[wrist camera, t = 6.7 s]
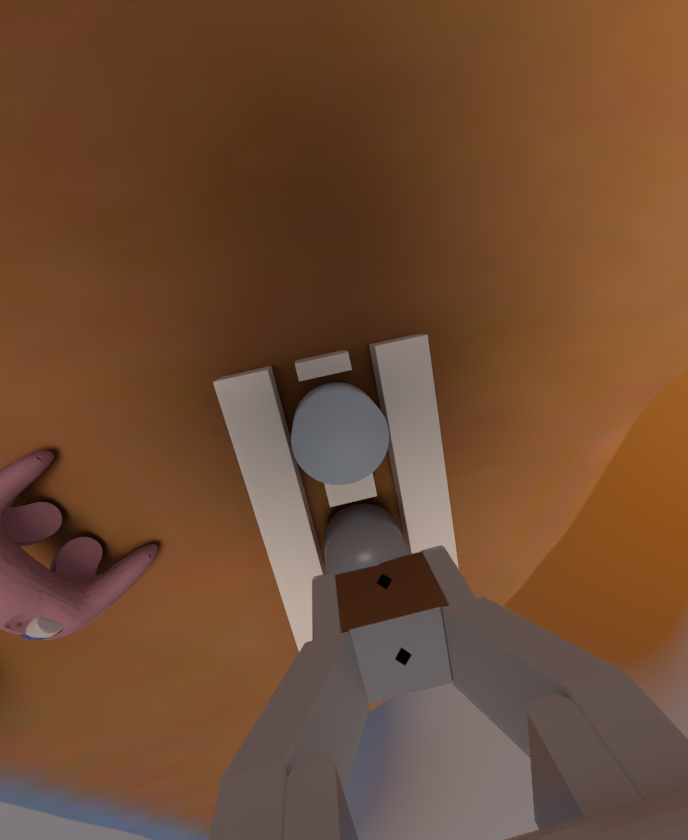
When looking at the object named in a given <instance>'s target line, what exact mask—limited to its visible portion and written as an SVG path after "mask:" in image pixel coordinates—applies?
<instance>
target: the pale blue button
mask: <svg viewBox="0 0 688 840" xmlns="http://www.w3.org/2000/svg"><path fill="white" fill-rule="evenodd" d="M388 444H389V429H388V425H387V422H386V419H385V417H384V415H383V414H382V412H381V411H380V409H379V408H378V407H377V406H376V405H375V403H374V402H373V401H372V400H371V399H370V398H369V396H368V395H367V394H366V393H365V392H363V391H362V390H361V389H359V388H357V387H356V386H353V385H351V384H348V383H343V382H330V383H325V384H322V385H320V386H317V387H315V388H314V389H312V390H311V391H309V392H308V393H307V394H306V395H305V396H304V397H303V398H302V400H301V401H300V403H299V405H298V406H297V409H296V411H295V415H294V421H293V427H292V434H291V446H292V451H293V454H294V457H295V459H296V461H297V463H298V464H299V466H300V467H301V468H302V469H303V470H304V471H305V472H306V473H307V474H308V475H309V476H311V477H312V478H314V479H316V480H318V481H320V482H323V483H326V484H331V485H346V484H351V483H355V482H358V481H360V480H362V479H364V478H366V477H367V476H369V475H370V474H371V473H373V472H374V471H375V470H376V469H377V467H378V466H379V465H380V464H381V462H382V461H383V459H384V457H385V455H386V452H387V449H388Z"/></svg>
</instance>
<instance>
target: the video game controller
mask: <svg viewBox="0 0 688 840" xmlns="http://www.w3.org/2000/svg"><path fill="white" fill-rule="evenodd" d="M53 459H54V454H53V452H51V451H40V452H36V453H33V454H30V455H28V456H26V457H23V458H21V459H19V460H17V461H16V462H14V463H12V464H11V465H9V466H7V467H5V468H4V469H2V470H0V630H3V631H6V632H10V633H14V634H18V635H21V636H23V637H24V638H27V639H31V640H53V639H58V638H61V637H64V636H67V635H70V634H72V633H74V632H77V631H79V630H81V629H83V628H84V627H85V626H87V625H88V624H89V623H91V622H92V621H93V620H94V619H96V618H97V617H98V616H100V615H101V614H102V613H103V612H104V611H106V610H107V609H108V608H109V607H110V606H111V605H112V604H113V603H114V602H115V601H117V600H118V599H119V598H120V597H121V596H122V595H123V594H124V593H125V592H126V591H127V589H128V588H129V587H130V586H131V585H132V584H133V583H134V582H135V581H136V580H137V579H138V578H139V577H140V576H141V575H142V574H143V573H144V572H145V571H146V569H147V568H148V567H149V566H150V564H151V563H152V561H153V560H154V558H155V556H156V554H157V551H158V547H157V545H155V544H149V545H146V546H144V547H141V548H139V549H138V550H136V551H134V552H132V553H131V554H129V555H128V556H126V557H125V558H123V559H122V560H120V561H119V562H117V563H116V564H114V565H113V566H112V567H110V568H109V569H108V570H106V571H105V572H104V573H103V574H101V575H97V574H96V570H97V567H98V565H99V562H100V560H101V557H102V547H101V545H100V544H99V543H98V542H97V541H96V540H94V539H92V538H89V537H78V538H75V539H73V540H71V541H69V542H67V543H66V544H64V545H63V546H62V547H60V548H59V549H58V551H57V552H56V553H55V555H54V557H53V559H52V561H51V565H50V570H49V569H48V568H46V567H45V566H43V565H42V564H40V563H39V562H38V561H36V560H35V559H34V558H32V557H31V556H30V555H29V554H28V553H27V552H25V551H24V550H23V549H22V548H21V547H20V546H26V545H31V544H35V543H38V542H40V541H42V540H44V539H46V538H48V537H49V536H51V535H53V534H54V533H55V532H56V531H57V530H58V529H59V528H60V526H61V523H62V515H61V513H60V511H59V509H58V508H57V507H56V506H54V505H53V504H51V503H47V502H37V503H32V504H28V505H24V506H19V507H11V505H12V503H13V502H14V500H15V499H16V498H17V496H18V495H19V494H20V493H21V492H22V491H23V490H24V489H25V488H26V487H27V486H28V485H30V484H31V483H32V482H33V481H34V480H35V479H36V478H37V477H38V476H39V475H41V474H42V472H43V471H44V470H45V469H46V468H47V467H48V466H49V465H50V464H51V462H52V461H53Z"/></svg>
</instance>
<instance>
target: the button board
mask: <svg viewBox="0 0 688 840" xmlns="http://www.w3.org/2000/svg"><path fill="white" fill-rule="evenodd" d="M369 349H370V354H371V360H372V365H373V371H374V376H375V382H376V387H377V393H378V398H379V404H380V409H381V412H382V414H383V415H384V417H385V419H386V422H387V425H388V429H389V444H388V453H389V459H390V464H391V470H392V475H393V481H394V486H395V492H396V497H397V503H398V508H399V514H400V519H401V525H402V530H403V536H404V541H405V543H406V545H407V547H408V549H409V552H410V554H412V553H416V552H420V551H421V550H425V549H429V548H432V547H436V546H440V545H442V546H444V547H445V549H446V550H447V552H448V553H449V555H450V556H451V558H452V560H453V561H454V563H455V564H456V566H457V568H458V560H457V553H456V545H455V538H454V530H453V522H452V515H451V507H450V500H449V492H448V485H447V477H446V470H445V462H444V455H443V447H442V440H441V432H440V425H439V417H438V409H437V402H436V394H435V387H434V379H433V372H432V364H431V357H430V349H429V342H428V335H427V334H414V335H409V336H404V337H400V338H395V339H391V340H386V341H382V342H377V343H373V344H369ZM295 367H296V371H297V375H298V379H299V381H304V380H308V379H313V378H317V377H322V376H326V375H331V374H335V373H340V372H344V371H349V370H352V368H351V363H350V358H349V353H348V351H346V350H341V351H336V352H332V353H327V354H322V355H318V356H313V357H309V358H304V359H300V360H296V361H295ZM213 384H214V387H215V391H216V394H217V397H218V400H219V403H220V406H221V409H222V412H223V416H224V419H225V422H226V425H227V428H228V431H229V434H230V438H231V441H232V444H233V447H234V450H235V453H236V456H237V459H238V463H239V466H240V469H241V472H242V475H243V478H244V481H245V484H246V488H247V491H248V494H249V497H250V500H251V503H252V506H253V510H254V513H255V516H256V519H257V522H258V525H259V528H260V531H261V535H262V538H263V541H264V544H265V547H266V550H267V553H268V556H269V560H270V563H271V566H272V569H273V572H274V575H275V578H276V581H277V585H278V588H279V591H280V594H281V597H282V600H283V603H284V607H285V610H286V613H287V616H288V619H289V622H290V625H291V628H292V632H293V635H294V638H295V641H296V644H297V647H298V650H299V652H300V650H301V649H302V647H303V645H304V644H305V642H309V641H312V580H313V577H314V576H319V575H323V574H326V569H325V565H324V561H323V558H322V554H321V550H320V546H319V543H318V539H317V535H316V531H315V528H314V524H313V520H312V516H311V513H310V509H309V505H308V501H307V498H306V494H305V490H304V486H303V483H302V479H301V475H300V471H299V468H298V464H297V461H296V459H295V457H294V454H293V451H292V446H291V438H290V434H289V430H288V426H287V423H286V419H285V415H284V411H283V408H282V404H281V400H280V396H279V393H278V389H277V385H276V381H275V378H274V374H273V370H272V366H268V367H263V368H259V369H254V370H249V371H245V372H240V373H236V374H231V375H227V376H222V377H220V378H218V379H217V380H215V381H213ZM324 485H325V489H326V493H327V497H328V501H329V505H330V507H333V506H338V505H342V504H346V503H350V502H354V501H359V500H363V499H367V498H371V497H375V496H377V493H376V488H375V483H374V478H373V473H371V474H370V475H369V476H367V477H366V478H364V479H362V480H360V481H358V482H355V483H351V484H346V485H331V484H326V483H324ZM458 569H459V568H458Z"/></svg>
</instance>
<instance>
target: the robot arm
mask: <svg viewBox="0 0 688 840" xmlns="http://www.w3.org/2000/svg"><path fill="white" fill-rule="evenodd" d="M449 683H454V686H455V687H457V689H459V690H460V691H461V692H462V693H463V694H464V695H465V696H466V697H467V698H468V699H469V700H470V701H471V702H472V703H473V704H474V705H476V707H477V708H479V709H480V710H481V711H482V712H483V713H484V714H485V715H486V716H487V717H488V718H489V719H490V720H491V721H492V722H493V723H495V725H497V727H498V728H500V729H501V730H502V731H503V732H504V733H505V734H506V735H507V736H508V737H509V738H510V739H511V740H512V741H513V742H514V743H515V744H517V746H518V747H519V748H521V749H522V750H523V751H524V752H525V753H526V754H527V755H528V756H529V757H530V758H531V759H530V760H531V773H532V788H533V801H534V813H535V814H534V815H535V822H536V824H537V826H538V828H539V830H536V831H533V832H529V833H525V834H522V835H518V836H515V837H512V838H508V839H504V840H688V739H687V738H686V737H685V736H684V735H683V734H682V733H681V732H680V730H679V729H678V728H677V727H676V726H675V725H674V724H673V723H672V722H671V721H670V719H669V718H668V717H667V716H666V715H665V714H664V713H663V712H662V711H661V710H660V709H659V708H658V706H657V705H656V704H655V703H654V702H653V701H652V700H651V699H650V698H649V697H648V696H647V695H646V693H644V691H643V690H642V689H641V688H640V687H639V686H638V685H637V684H636V683H635V682H634V680H633V679H632V678H631V677H630V676H629V675H628V674H627V673H626V672H625V671H623V670H621V669H619V668H617V667H615V666H613V665H611V664H610V663H608V662H606V661H604V660H602V659H600V658H598V657H596V656H595V655H593V654H591V653H589V652H587V651H585V650H583V649H581V648H579V647H578V646H576V645H574V644H572V643H570V642H568V641H566V640H564V639H562V638H560V637H559V636H557V635H555V634H553V633H551V632H549V631H547V630H545V629H544V628H542V627H540V626H538V625H536V624H534V623H532V622H530V621H528V620H527V619H525V618H523V617H521V616H519V615H517V614H515V613H513V612H512V611H510V610H508V609H506V608H504V607H502V606H500V605H498V604H496V603H495V602H493V601H491V600H489V599H487V598H485V597H482V598H478V599H477V598H476V596H475V595H474V593H473V591H472V590H471V588H470V587H469V585H468V583H467V582H466V580H465V579H464V577H463V576H462V574H461V572H460V571H459V569H458V568H457V566H456V564H455V563H454V561H453V560H452V558H451V556H450V555H449V553H448V552H447V550H446V549H445V547H444V546H442V545H440V546H436V547H432V548H429V549H425V550H421V551H420V552H416V553H412V554H408V555H404V556H400V557H396V558H392V559H388V560H384V561H380V562H375V563H371V564H366V565H362V566H357V567H353V568H348V569H344V570H339V571H336V572H332V573H327V574H323V575H319V576H314V577H313V580H312V641H309V642H305V644H304V645H303V647H302V649H301V650H300V652H299V653H298V655H297V657H296V658H295V660H294V662H293V663H292V665H291V666H290V668H289V670H288V671H287V673H286V674H285V676H284V678H283V679H282V681H281V683H280V684H279V686H278V687H277V689H276V691H275V692H274V694H273V696H272V697H271V699H270V700H269V702H268V704H267V705H266V707H265V709H264V710H263V712H262V713H261V715H260V717H259V718H258V720H257V722H256V723H255V725H254V726H253V728H252V730H251V731H250V733H249V734H248V736H247V738H246V739H245V741H244V743H243V744H242V746H241V747H240V749H239V751H238V752H237V754H236V756H235V757H234V759H233V760H232V762H231V764H230V765H229V767H228V769H227V770H226V772H225V773H224V775H223V777H222V778H221V781H220V786H219V791H218V796H217V801H216V806H215V811H214V816H213V821H212V826H211V831H210V836H209V840H359V839H358V836H357V832H356V829H355V826H354V823H353V820H352V817H351V813H350V810H349V807H348V804H347V800H346V797H345V794H344V792H345V789H346V785H347V782H348V778H349V775H350V772H351V768H352V765H353V762H354V758H355V755H356V751H357V748H358V745H359V741H360V738H361V734H362V731H363V727H364V724H365V721H366V717H367V714H368V710H369V706H368V705H369V704H373V703H376V702H379V701H383V700H386V699H389V698H393V697H396V696H399V695H403V694H406V693H409V692H410V691H411V692H414V691H418V690H422V689H427V688H431V687H436V686H440V685H444V684H449Z"/></svg>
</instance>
